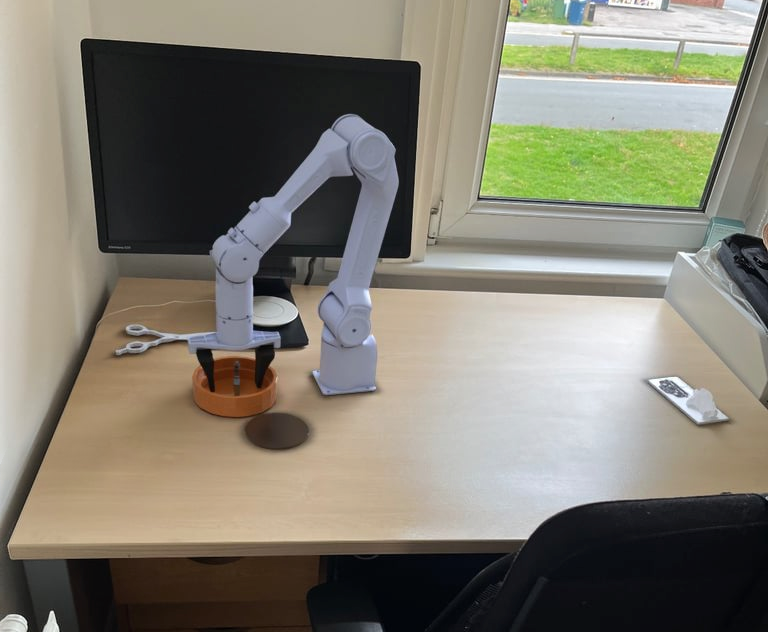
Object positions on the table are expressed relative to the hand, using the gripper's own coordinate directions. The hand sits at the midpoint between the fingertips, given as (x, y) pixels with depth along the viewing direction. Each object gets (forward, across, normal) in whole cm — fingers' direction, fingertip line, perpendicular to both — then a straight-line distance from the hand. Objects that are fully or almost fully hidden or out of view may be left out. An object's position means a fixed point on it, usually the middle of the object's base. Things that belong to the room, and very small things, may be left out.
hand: (235, 387), depth 136 cm
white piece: (+2, -80, +16) cm, 81 cm away
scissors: (+2, +8, -22) cm, 23 cm away
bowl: (+2, 0, 0) cm, 2 cm away
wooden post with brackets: (+2, 0, 0) cm, 2 cm away
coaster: (+2, -4, +12) cm, 12 cm away
